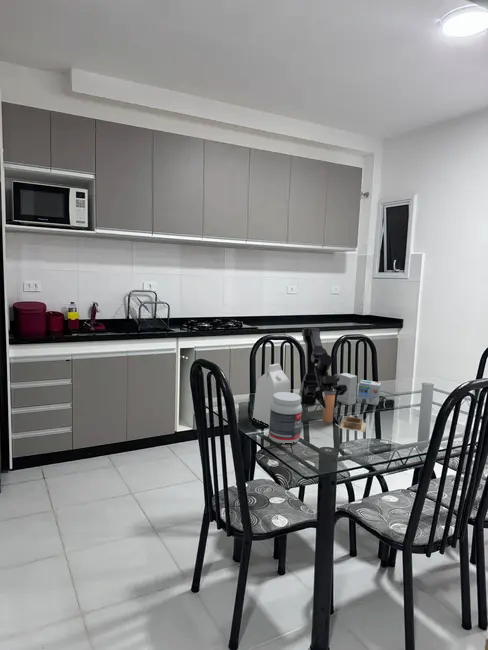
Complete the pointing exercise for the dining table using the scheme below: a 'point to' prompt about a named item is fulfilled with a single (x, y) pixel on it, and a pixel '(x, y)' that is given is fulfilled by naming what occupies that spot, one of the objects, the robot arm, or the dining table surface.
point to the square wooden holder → (353, 424)
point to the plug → (328, 405)
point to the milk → (269, 391)
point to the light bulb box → (369, 392)
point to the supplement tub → (285, 418)
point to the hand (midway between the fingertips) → (329, 407)
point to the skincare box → (351, 385)
